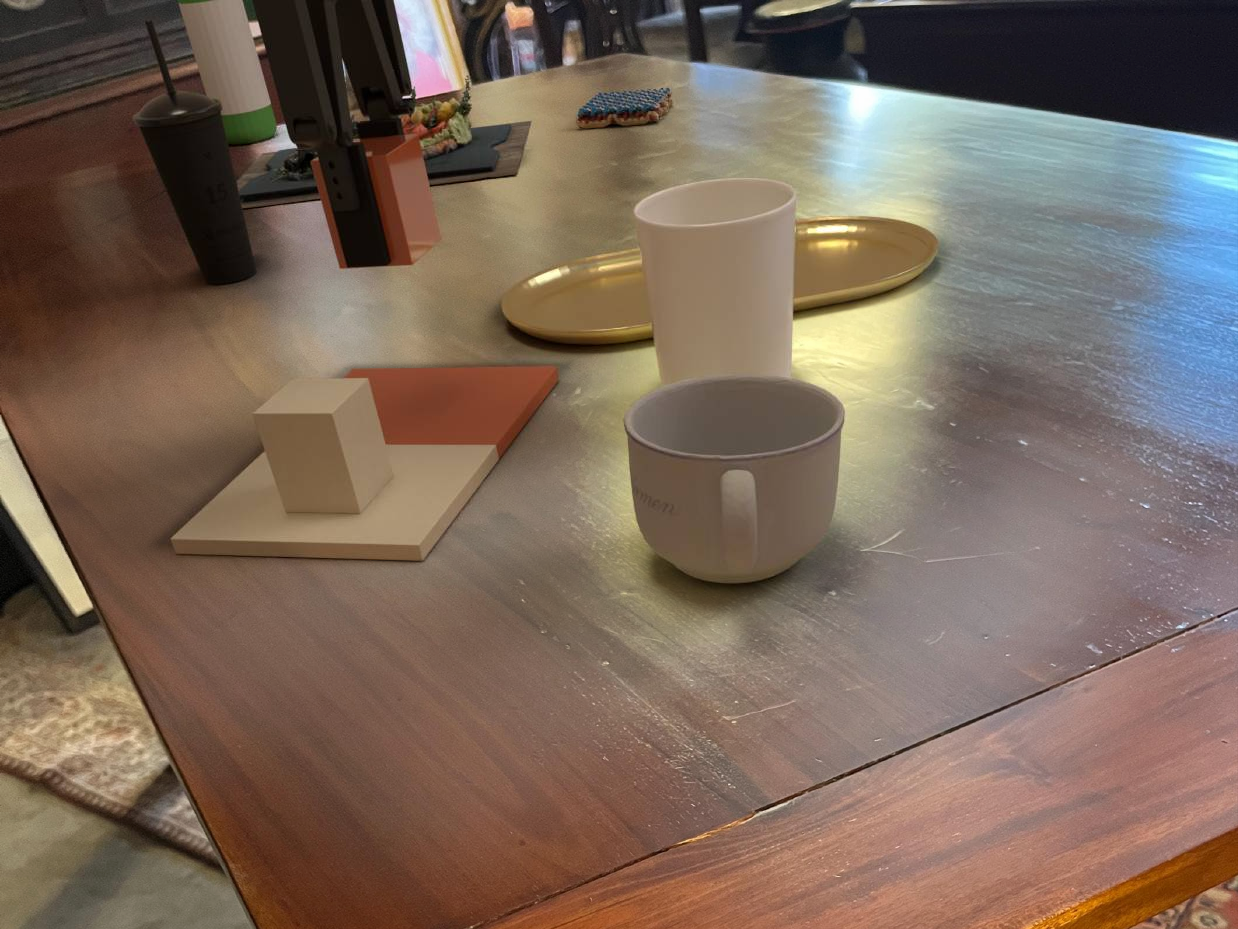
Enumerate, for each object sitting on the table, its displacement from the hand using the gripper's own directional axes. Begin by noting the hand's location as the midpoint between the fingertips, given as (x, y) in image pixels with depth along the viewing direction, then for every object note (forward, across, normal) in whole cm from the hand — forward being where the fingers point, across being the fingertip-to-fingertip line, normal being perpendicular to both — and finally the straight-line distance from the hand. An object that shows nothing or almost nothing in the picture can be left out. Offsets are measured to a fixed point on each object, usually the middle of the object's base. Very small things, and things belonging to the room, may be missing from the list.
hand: (387, 249), depth 76 cm
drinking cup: (+11, +32, +33) cm, 47 cm away
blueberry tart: (+11, +88, +9) cm, 89 cm away
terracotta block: (0, 0, 0) cm, 0 cm away
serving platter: (+11, +24, -16) cm, 31 cm away
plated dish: (+11, +72, +35) cm, 81 cm away
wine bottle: (+11, +90, +62) cm, 110 cm away
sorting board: (+11, -7, 0) cm, 13 cm away
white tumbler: (+11, +2, -21) cm, 24 cm away
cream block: (+10, -14, 0) cm, 17 cm away
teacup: (+11, -20, -26) cm, 35 cm away
